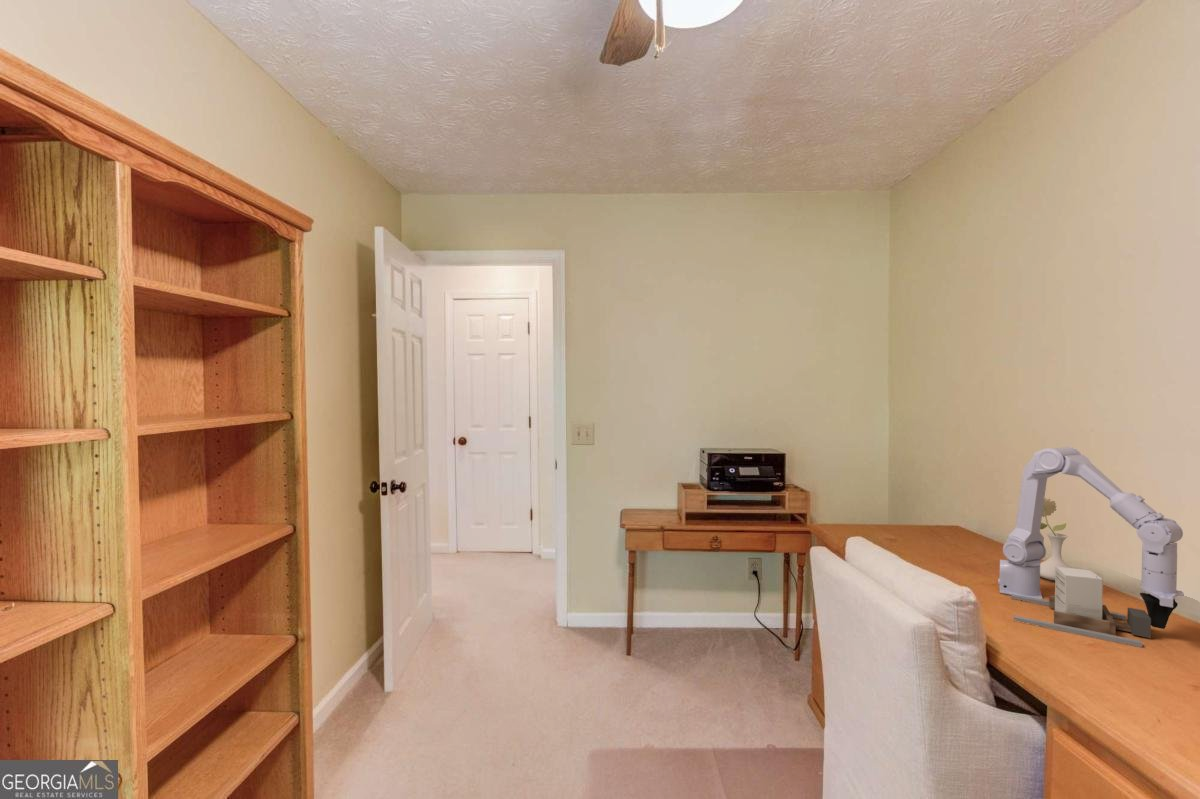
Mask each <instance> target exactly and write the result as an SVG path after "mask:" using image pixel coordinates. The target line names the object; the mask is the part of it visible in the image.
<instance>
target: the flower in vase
mask: <svg viewBox="0 0 1200 799" xmlns="http://www.w3.org/2000/svg"><path fill="white" fill-rule="evenodd" d="M1056 511H1057V502H1056V501H1055V500H1051V498H1047V497H1044V505H1043V512H1042V518H1043V517H1044V519H1045V522H1046V523H1044V522H1041V527H1040V530H1044V529H1046V528H1049V530H1051V532H1046V533H1045V534H1046V536H1047V537H1048V538H1049V541H1050V544H1051V545H1050V546H1051V555H1050V557H1049V558H1048V559H1045V560H1044V561H1041V563H1040V578H1044V579H1046V580H1050V581H1054V582H1055V566H1056V567H1065V568H1073V567H1072V566H1070V565H1069V564H1068V563H1067V562H1065V561H1064V559H1063V556H1062V548H1063V543H1064V541H1065V540H1066V539H1067V538H1068V535H1066V534H1063V533H1059V532H1060V531H1063V530H1065V529H1066V526H1067V523H1062V524H1057V525H1054V526H1053V528H1052V527H1051V526H1050V524H1049V522H1048V518H1047V517H1048V516H1052V514H1054V512H1056ZM1058 531H1059V532H1058Z"/></svg>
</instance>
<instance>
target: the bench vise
mask: <svg viewBox="0 0 1200 799" xmlns="http://www.w3.org/2000/svg"><path fill="white" fill-rule="evenodd" d="M1048 597H1049V598H1048V601H1049V606H1048V607H1049V608H1050V609H1054V610H1053V623H1055V624H1060V625H1065V626H1070V627H1075V628H1080V629H1085V630H1090V631H1095V632H1100V633H1105V634H1110V635H1115V636H1116V630H1119V631H1124V632H1130V633H1131V634H1132V636H1139V637H1143V638H1149V639H1151V638H1152V637H1151V636H1152V635H1151V634H1152V626H1151V618H1150V617H1149V616H1148V612H1146V611H1147V610H1144V609H1139V608H1133V607H1127V617H1126V621H1127V622H1122V621H1117V620H1114V618H1112V616H1111V614H1110V613H1109V612H1110V611H1109V609H1108V607H1107V605H1106V604H1103V605H1102V619H1096V618H1091V617H1086V616H1081V615H1075V614H1070V613H1065V612H1060V611H1055V595H1049V596H1048Z"/></svg>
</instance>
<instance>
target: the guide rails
mask: <svg viewBox="0 0 1200 799" xmlns="http://www.w3.org/2000/svg"><path fill="white" fill-rule="evenodd" d="M1011 598H1012V599H1011ZM1010 599H1011V600H1014V599H1017V600H1016V601H1019V600H1022V601H1021V602H1025V601H1027V602H1026V603H1030V602H1032V603H1031V604H1035V603H1037V604H1036V605H1042V606H1047V607H1049V599H1048V600H1047V599H1043V600H1042V599H1037V598H1031V597H1026V596H1020V595H1015V594H1011V595H1010ZM1109 613H1110V614H1111V616H1112V618H1113V619H1116V618H1117V619H1118V620H1121V619H1122V621H1127V617H1126V615H1125V614H1124V613H1118V612H1112V611H1109ZM1014 620H1016V621H1020V622H1024V623H1023V624H1025V623H1029V624H1028V625H1030V624H1034V625H1033V626H1035V625H1038V626H1037V627H1040V626H1042V627H1041V628H1046V629H1049V628H1050V629H1051V630H1054V629H1055V631H1060V632H1064V633H1070V634H1074V635H1079V636H1085V637H1090V638H1095V639H1099V640H1104V641H1108V642H1113V643H1118V644H1121V645H1122V644H1124V645H1127V644H1128V645H1127V646H1133V647H1137V648H1143V642H1142V641H1141V640H1139V639H1134V638H1130V637H1124V636H1119V635H1116V634H1115V635H1110V634H1105V633H1100V632H1095V631H1090V630H1085V629H1080V628H1075V627H1070V626H1065V625H1060V624H1055V623H1054V622H1049V621H1044V620H1041V619H1040V620H1039V619H1033V618H1030V617H1029V618H1028V617H1025V616H1019V615H1014V614H1013V621H1014ZM1020 622H1019V623H1020Z"/></svg>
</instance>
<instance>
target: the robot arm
mask: <svg viewBox="0 0 1200 799" xmlns="http://www.w3.org/2000/svg"><path fill="white" fill-rule="evenodd" d="M1059 473H1061V474H1063V475H1067V476H1068V475H1069V476H1073V477H1078V478H1081V479H1082V480H1083V481H1085V483H1087V484H1088V485H1090V487H1092V488H1094V490H1096V491H1097V492H1098V493H1100V494H1101V495H1102V496H1104V497H1105V498H1106V499H1108V501H1109V507H1110V508H1111V509H1112V510H1113V511H1114V512H1115V513H1116V514H1118V515H1119V516H1120V517H1121V518H1122V519H1123V520H1125V521H1126V522H1127V523H1128V524H1129V525H1130V526H1132V527H1133V528H1134V529H1136V535H1137V537H1138V538H1139V539H1140V540H1141V542H1142V548H1141V582H1140V585H1139V588H1140V590H1141V591H1143V592H1140V593H1139V595H1140V596H1141V598H1142V600H1143V602H1144V605H1145V608H1146V611H1147V612H1146V613H1147V614H1148V616H1149V617H1150V618H1151V628H1157V629H1163V630H1165V629H1166V627H1167V624H1168V621H1169V618H1170V616H1171V614H1172V613H1173V611H1174V610H1175V609H1176V608H1177V607H1178V602H1177V601H1176V599H1175V598H1176V597H1178V596H1179V597H1184V596H1185V594H1184V592H1183V591H1181V590H1177V582H1178V579H1177V578H1178V542H1179V541H1180V540H1182V538H1183V536H1184V533H1183V529H1182V527H1181V526H1180V525H1179V524H1178V523H1177V521H1176V520H1174V519H1171V518H1168V517H1165V515H1164V514H1162V513H1161V512H1157V511H1156V510H1155V509H1153V508H1152V507H1151V506H1150V505H1149V504H1147V503H1146V502H1145V497H1143V496H1141V495H1136V494H1135V493H1133V492H1125V491H1123V490H1122V489H1121V488H1120V487H1119V486H1117V485H1116V483H1114V482H1113V481H1112V480H1111V479H1110V478H1109V477H1108V476H1106V475H1105V474H1104V473H1103V472H1102V471H1101V470H1100V469H1099V468H1097V467H1096V466H1095V465H1094V464H1093V463H1092V462H1091V460H1090V459H1089V457H1087V456H1086V455H1084V454H1082V453H1081V452H1080V451H1079V450H1078V449H1076V448H1074V447H1071V446H1064V447H1057V448H1056V447H1055V448H1053V447H1052V448H1049V447H1048V448H1047V447H1046V448H1043V449H1041V450H1038V451H1036V452H1034V453H1033V456H1032V458H1031V459H1030V460H1029V461H1028V462H1027V463H1026V464H1025V466H1024V467H1023V469H1022V475H1021V484H1020V490H1019V491H1020V492H1019V498H1018V506H1017V514H1016V521H1015V522H1016V523H1015V528H1014V529H1013V530H1012V531H1011V532H1010V533H1009V534H1008V535H1007V540H1006V542H1005V543H1004V544H1003V546H1002V553H1003V555H1004V557H1005V558H1006V559H999V572H998V573H999V575H998V576H999V578H998V579H997V586H999V587H998V588H999V593H1000V594H1004V595H1010V596H1011V594H1015V595H1020V596H1026V597H1031V598H1037V599H1042V600H1044V599H1043V596H1042V595H1043V594H1042V591H1041V576H1040V563H1041V562H1042V561H1041V560H1043V559H1044V558H1045V556H1046V554H1047V548H1046V546H1045V543H1044V539H1045V538H1044V536H1043V534H1042V533H1041V529H1040V527H1041V523H1042V518H1043V516H1042V512H1043V505H1044V498H1046V497H1045V495H1046V490H1047V489H1046V488H1047V482H1048V479H1049V478H1050V477H1052V476H1055V475H1058V474H1059Z"/></svg>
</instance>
